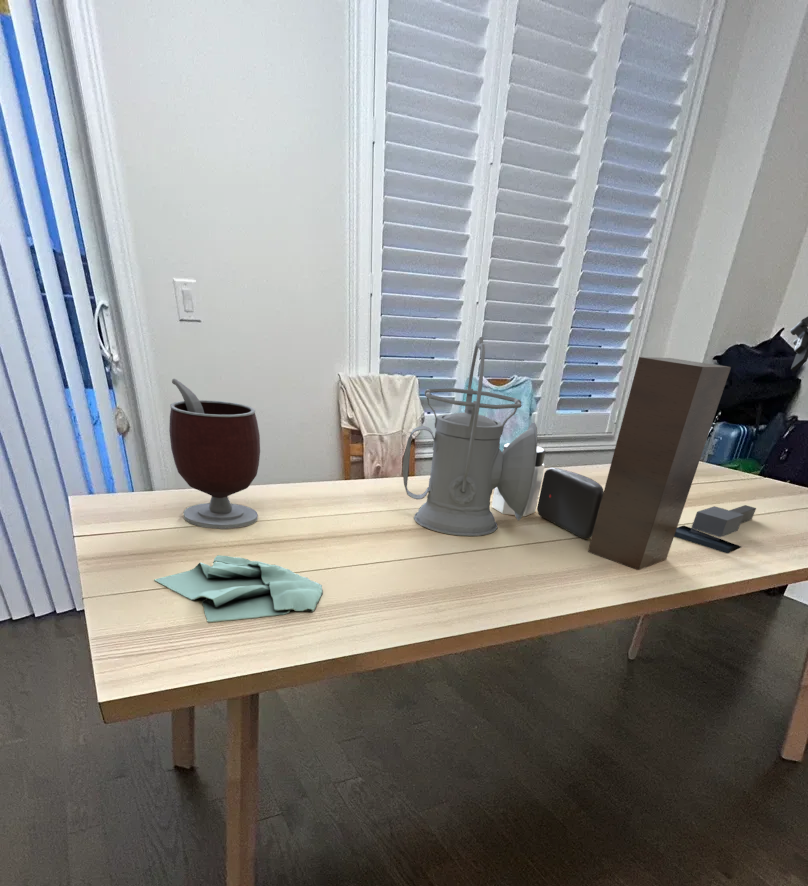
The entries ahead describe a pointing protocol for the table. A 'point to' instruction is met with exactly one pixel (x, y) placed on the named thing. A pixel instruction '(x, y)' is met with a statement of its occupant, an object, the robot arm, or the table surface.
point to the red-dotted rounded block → (570, 501)
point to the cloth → (244, 589)
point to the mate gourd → (215, 456)
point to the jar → (503, 507)
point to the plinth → (656, 458)
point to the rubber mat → (705, 540)
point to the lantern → (473, 464)
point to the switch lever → (721, 521)
